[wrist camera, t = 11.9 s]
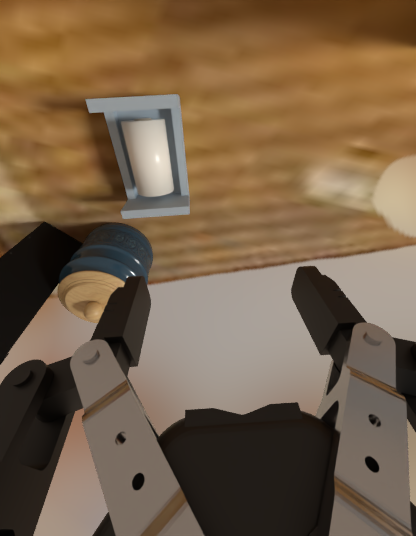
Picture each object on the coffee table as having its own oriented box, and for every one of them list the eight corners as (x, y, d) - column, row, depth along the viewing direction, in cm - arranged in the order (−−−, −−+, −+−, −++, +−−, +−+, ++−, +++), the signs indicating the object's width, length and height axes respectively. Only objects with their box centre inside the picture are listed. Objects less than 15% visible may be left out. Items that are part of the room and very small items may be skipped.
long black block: (28, 247, 41) (-153, 409, 19) (44, 220, 38) (-150, 376, 16) (69, 268, 45) (-45, 423, 23) (86, 245, 42) (-25, 399, 20)
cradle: (179, 96, 29) (177, 94, 23) (189, 196, 38) (189, 214, 32) (106, 100, 29) (85, 99, 23) (133, 200, 37) (123, 218, 31)
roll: (113, 119, 28) (130, 120, 24) (152, 116, 30) (172, 117, 27) (132, 191, 33) (148, 201, 30) (163, 184, 36) (180, 191, 33)
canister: (166, 253, 45) (157, 320, 31) (125, 282, 49) (101, 353, 35) (116, 207, 38) (74, 266, 24) (73, 246, 42) (17, 315, 28)
